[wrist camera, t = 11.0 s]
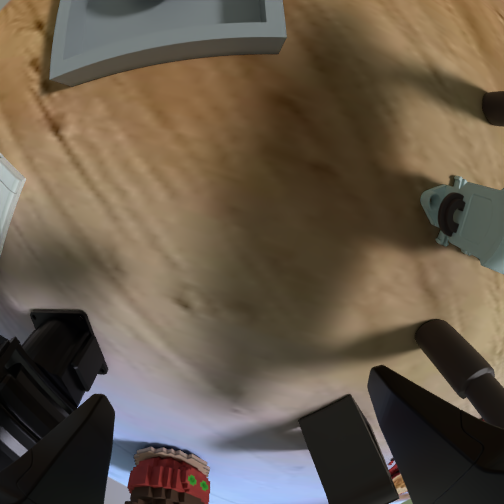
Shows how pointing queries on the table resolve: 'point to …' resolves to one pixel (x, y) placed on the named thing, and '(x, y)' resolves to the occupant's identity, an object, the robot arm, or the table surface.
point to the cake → (168, 478)
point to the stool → (491, 256)
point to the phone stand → (347, 455)
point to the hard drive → (8, 195)
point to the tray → (158, 34)
